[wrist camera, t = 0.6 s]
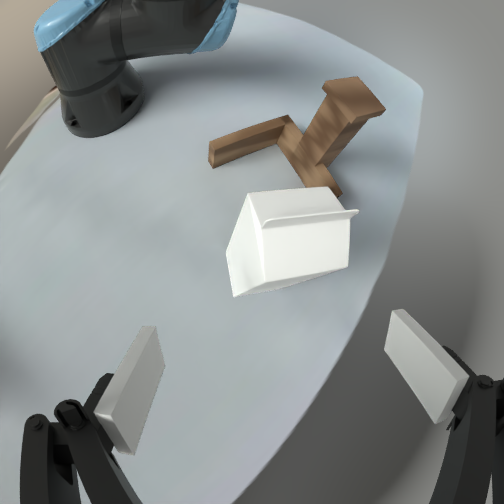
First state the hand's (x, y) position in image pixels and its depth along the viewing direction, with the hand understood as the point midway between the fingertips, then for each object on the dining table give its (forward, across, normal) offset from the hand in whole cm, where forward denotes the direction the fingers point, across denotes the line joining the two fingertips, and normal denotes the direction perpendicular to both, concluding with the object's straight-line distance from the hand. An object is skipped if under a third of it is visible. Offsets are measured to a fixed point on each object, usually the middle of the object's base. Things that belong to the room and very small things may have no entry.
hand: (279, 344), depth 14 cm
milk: (+22, -1, -4) cm, 22 cm away
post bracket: (+29, +4, +8) cm, 30 cm away
